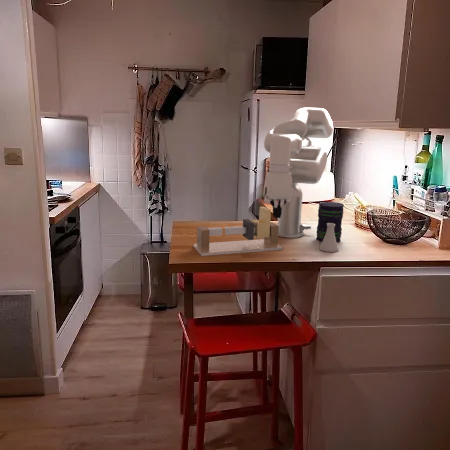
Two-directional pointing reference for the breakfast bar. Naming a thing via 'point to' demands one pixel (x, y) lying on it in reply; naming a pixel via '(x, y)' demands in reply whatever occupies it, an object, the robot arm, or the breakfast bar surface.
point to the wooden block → (263, 223)
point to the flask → (329, 240)
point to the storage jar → (329, 219)
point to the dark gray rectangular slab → (249, 229)
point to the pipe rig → (234, 246)
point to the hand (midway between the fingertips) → (276, 217)
